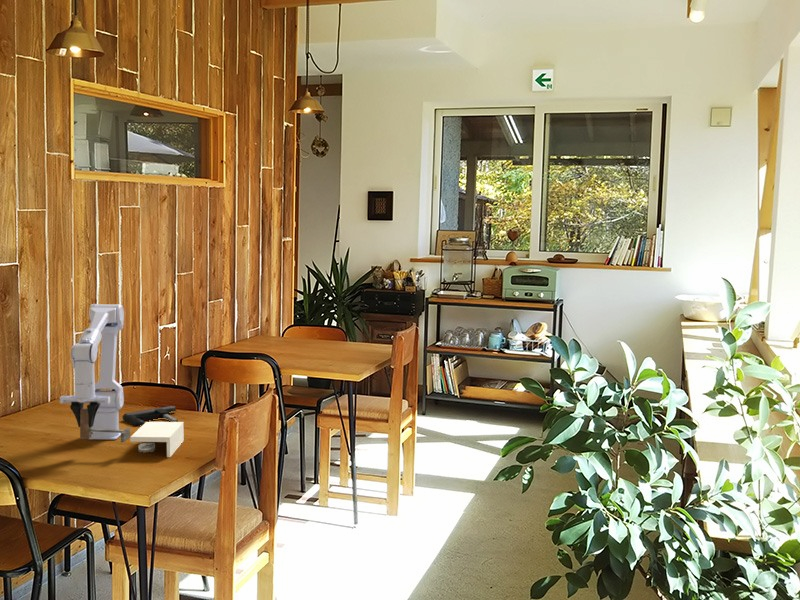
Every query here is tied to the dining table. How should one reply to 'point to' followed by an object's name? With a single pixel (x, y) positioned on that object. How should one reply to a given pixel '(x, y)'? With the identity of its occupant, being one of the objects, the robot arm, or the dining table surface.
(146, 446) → the grey round disc
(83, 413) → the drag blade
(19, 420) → the dining table surface
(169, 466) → the dining table surface
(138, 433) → the white bridge block
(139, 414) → the door handle
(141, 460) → the dining table surface
